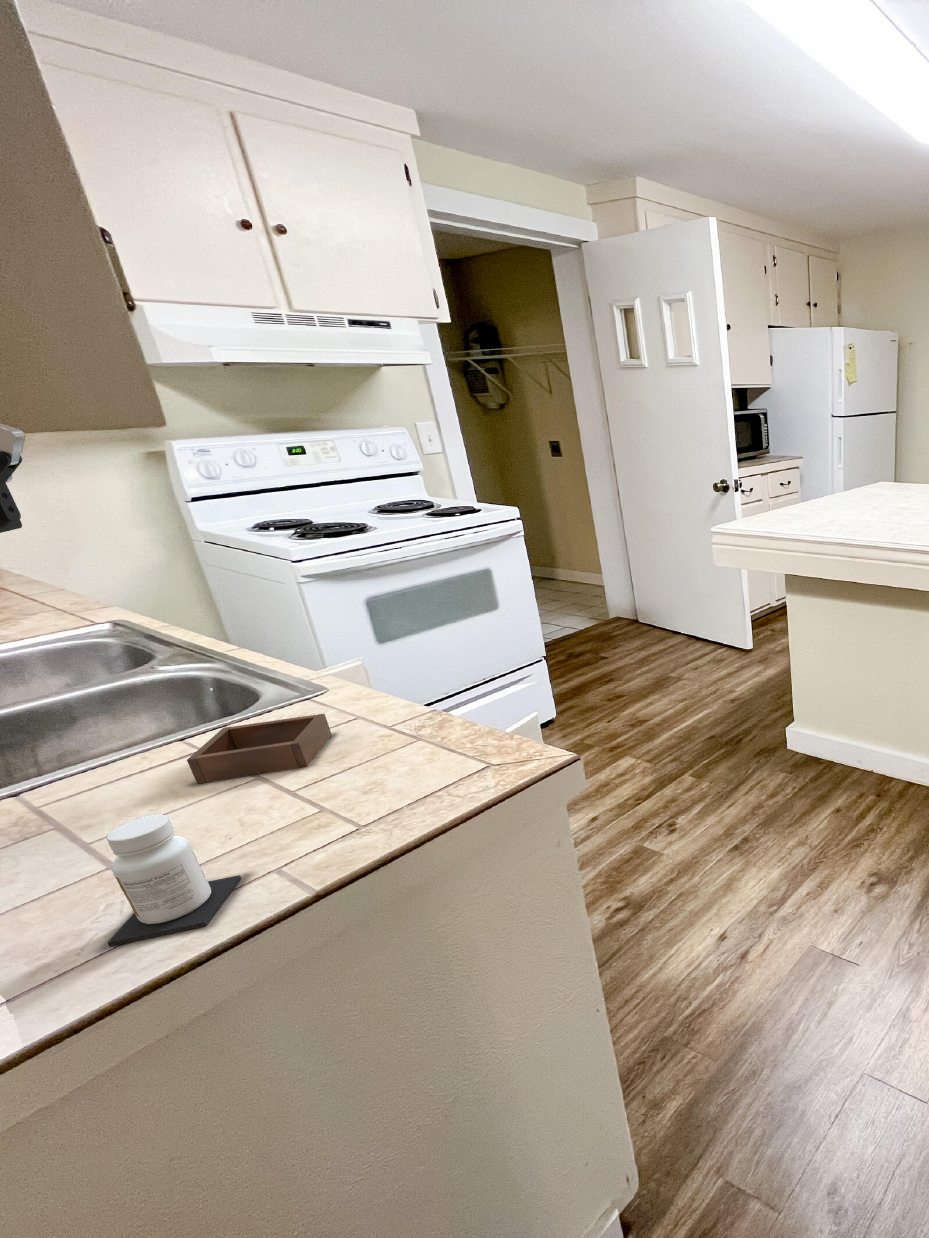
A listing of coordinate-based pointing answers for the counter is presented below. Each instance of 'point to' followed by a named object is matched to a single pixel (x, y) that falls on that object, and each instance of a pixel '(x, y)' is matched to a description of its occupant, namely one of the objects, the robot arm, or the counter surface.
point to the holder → (260, 748)
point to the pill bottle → (157, 870)
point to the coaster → (194, 919)
